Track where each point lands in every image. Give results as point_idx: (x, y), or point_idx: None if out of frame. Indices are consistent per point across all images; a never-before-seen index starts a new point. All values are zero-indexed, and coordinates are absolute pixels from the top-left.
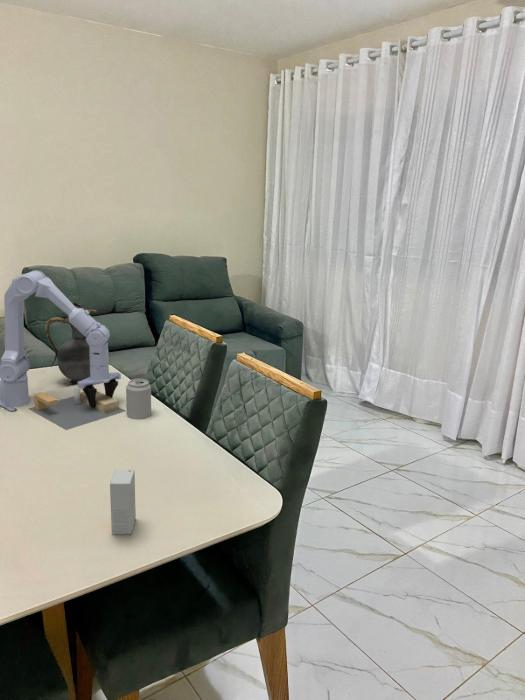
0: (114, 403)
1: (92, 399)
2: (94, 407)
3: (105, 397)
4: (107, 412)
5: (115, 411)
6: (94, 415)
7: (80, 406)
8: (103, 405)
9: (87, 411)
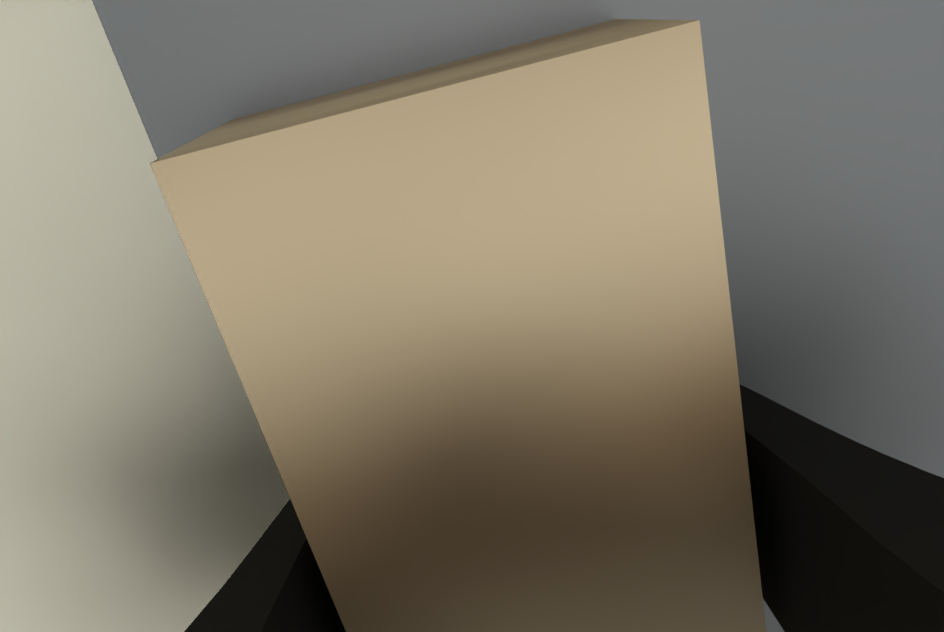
0: (327, 109)
1: (914, 469)
2: None
3: (443, 561)
4: (557, 37)
5: (348, 31)
6: (871, 41)
7: None
8: (692, 114)
9: (862, 331)
